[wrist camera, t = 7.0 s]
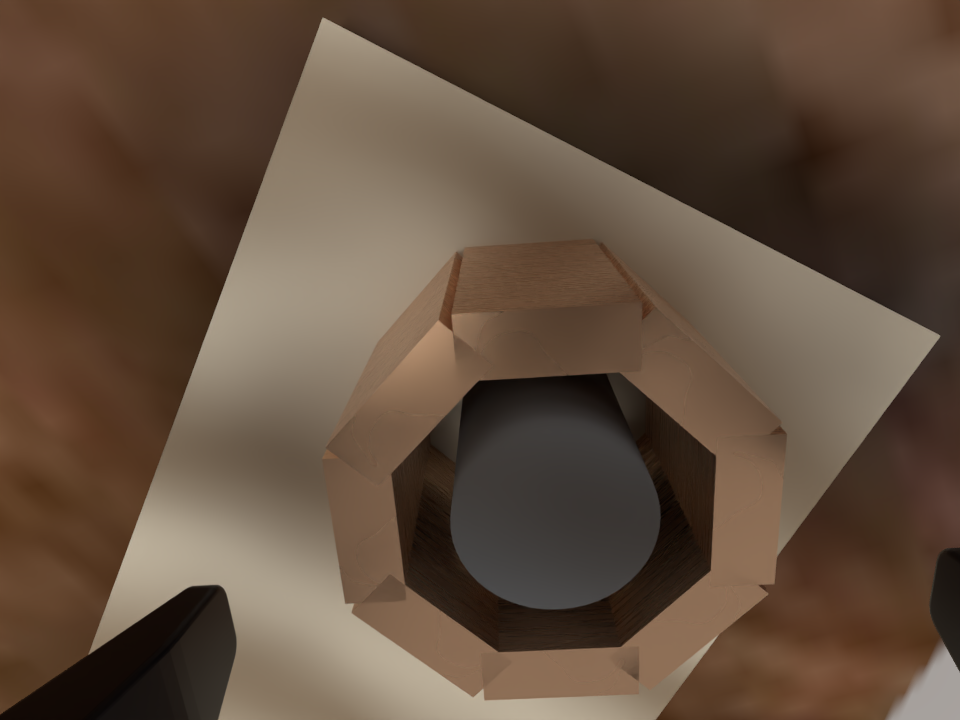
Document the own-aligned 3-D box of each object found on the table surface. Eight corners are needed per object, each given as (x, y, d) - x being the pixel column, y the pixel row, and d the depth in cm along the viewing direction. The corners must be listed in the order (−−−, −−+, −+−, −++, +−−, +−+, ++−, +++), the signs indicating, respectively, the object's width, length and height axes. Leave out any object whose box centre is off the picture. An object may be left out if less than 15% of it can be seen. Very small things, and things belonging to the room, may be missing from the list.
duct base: (512, 860, 22) (519, 1142, 16) (83, 705, 21) (-91, 958, 14) (901, 316, 16) (1149, 440, 10) (339, 26, 14) (225, -36, 8)
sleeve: (687, 523, 16) (765, 689, 12) (398, 537, 17) (361, 704, 12) (697, 232, 14) (799, 292, 9) (363, 253, 14) (299, 323, 10)
